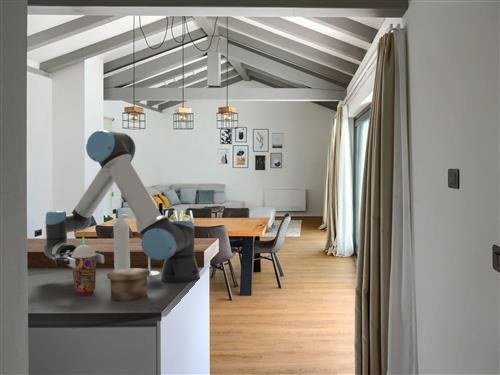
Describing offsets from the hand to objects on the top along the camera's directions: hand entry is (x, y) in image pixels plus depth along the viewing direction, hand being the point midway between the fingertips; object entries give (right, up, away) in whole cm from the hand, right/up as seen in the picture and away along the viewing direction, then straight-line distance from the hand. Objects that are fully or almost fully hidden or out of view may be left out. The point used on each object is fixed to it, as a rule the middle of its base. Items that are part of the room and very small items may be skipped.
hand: (89, 261), depth 154 cm
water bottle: (+2, -11, +35) cm, 36 cm away
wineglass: (+13, -11, +34) cm, 38 cm away
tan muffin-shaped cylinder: (+14, -12, 0) cm, 18 cm away
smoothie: (-3, -12, +4) cm, 13 cm away
